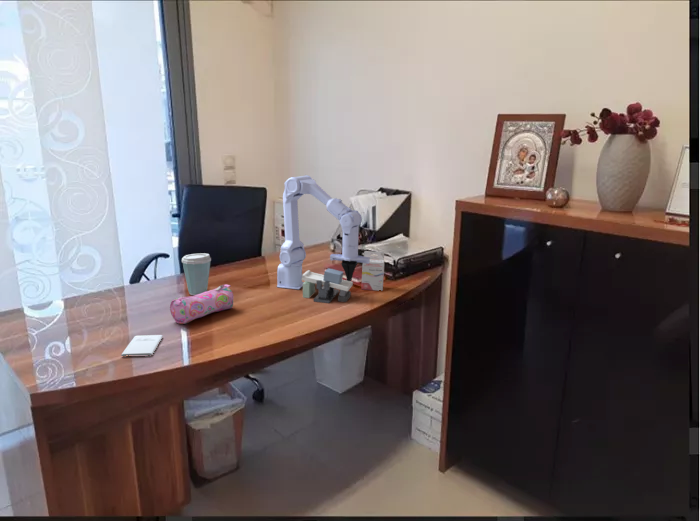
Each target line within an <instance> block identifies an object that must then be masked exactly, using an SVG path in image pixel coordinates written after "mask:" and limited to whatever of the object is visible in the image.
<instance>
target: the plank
mask: <svg viewBox="0 0 700 521" xmlns="http://www.w3.org/2000/svg"><path fill="white" fill-rule="evenodd" d="M323 279H324V274H322V273H317V272H313V271H311V270H309V269H308V270H306V271H305V272H303V273H302V281H303V282H305V281H308V282H312V283H315V285H317V280H322V289H324V282H325V281H323ZM353 282H354V281H352V280H351V281H347V279H346V280H345V279H343V278H342V282H341V283H340V284H335V283H331V282H330V287H332V288H334V289H338V290H339V293H338V296H339V295H340V296H345V295H346V294H347V293H348V291H350V289H351V288H352V287H353V284H354V283H353Z"/></svg>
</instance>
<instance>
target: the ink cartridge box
mask: <svg viewBox="0 0 700 521" xmlns="http://www.w3.org/2000/svg"><path fill="white" fill-rule="evenodd" d="M363 256H364V257H370V263H369V264H366V263H362V266H361V267H362V269H361V270H362V271H361V290H364V291H365V290H368V291H379V290H381V292H382V291H383V290H384V288H383V287H384V277H385V276H384V275H385V252H383V251H370V250H369V251H367V250H365V251H364V252H363Z"/></svg>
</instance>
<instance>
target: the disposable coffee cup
mask: <svg viewBox="0 0 700 521" xmlns="http://www.w3.org/2000/svg"><path fill="white" fill-rule="evenodd" d="M211 261H212V257H211V256H210V254H209V253H205V252H204V253H201V252H200V253H191V254H185V255H184V256H183V257H182V258H181V263H182V266H183V267H182V268H183V272H184V277H185V281H186V282H185V283H186V285H187V290H188V293H189V295H190V296H195V295H198V294H201V293H203V292H207V291H208V288H209V286H208V285H209V277H210V268H211Z"/></svg>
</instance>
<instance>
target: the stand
mask: <svg viewBox="0 0 700 521" xmlns="http://www.w3.org/2000/svg"><path fill="white" fill-rule="evenodd" d="M323 286H324V289H322V287H323ZM316 290H318V294H317V295H316V296H314V298H313V302H316V303H321V304H322V303H323V304H330V303H331V302H332V301H333V300H334V299H335V298H336V296H338V295H339V293H340V289H336V288H332V287H330V281H325V282H324V285H322V280H317V284H316Z"/></svg>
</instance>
